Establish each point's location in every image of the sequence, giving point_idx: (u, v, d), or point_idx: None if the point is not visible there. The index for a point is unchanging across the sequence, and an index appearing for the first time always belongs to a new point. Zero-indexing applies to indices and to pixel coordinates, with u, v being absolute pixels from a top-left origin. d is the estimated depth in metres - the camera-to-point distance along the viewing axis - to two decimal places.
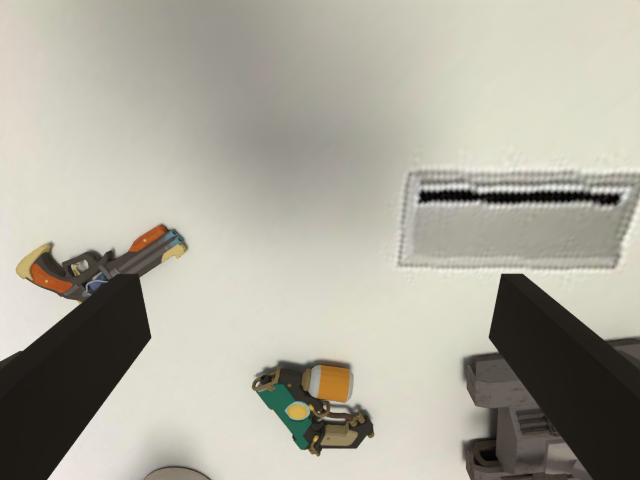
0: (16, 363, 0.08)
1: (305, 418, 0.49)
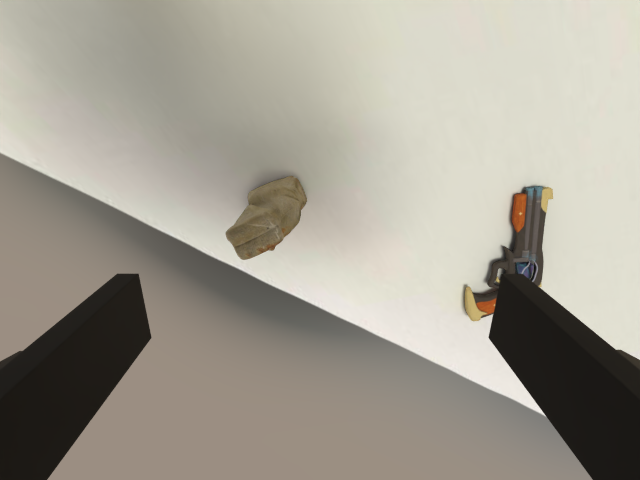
0: (16, 363, 0.08)
1: None
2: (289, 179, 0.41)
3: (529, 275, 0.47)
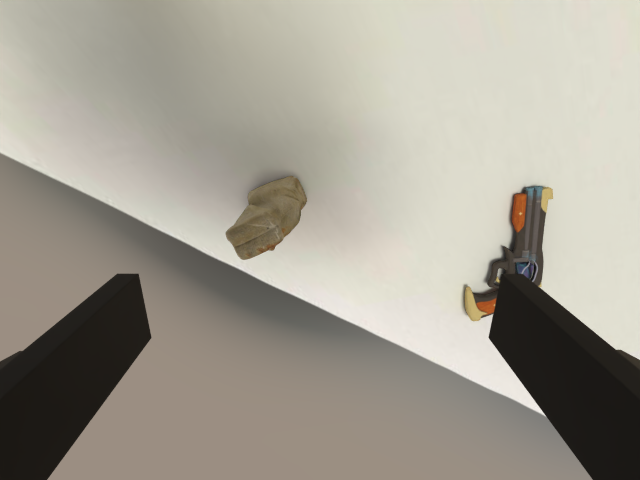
0: (16, 363, 0.08)
1: None
2: (289, 179, 0.41)
3: (529, 275, 0.47)
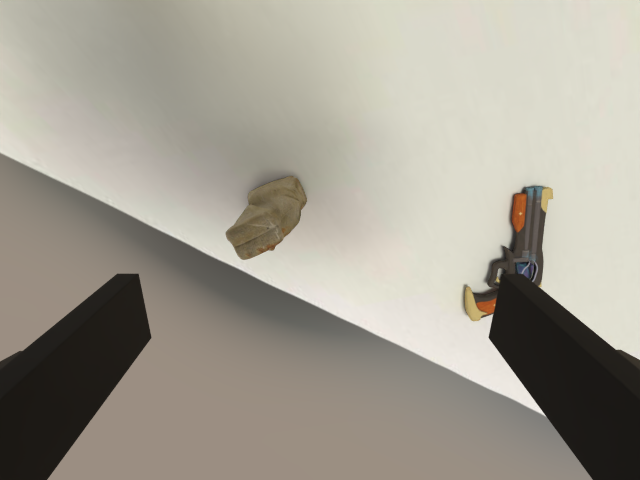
0: (16, 363, 0.08)
1: None
2: (289, 179, 0.41)
3: (529, 275, 0.47)
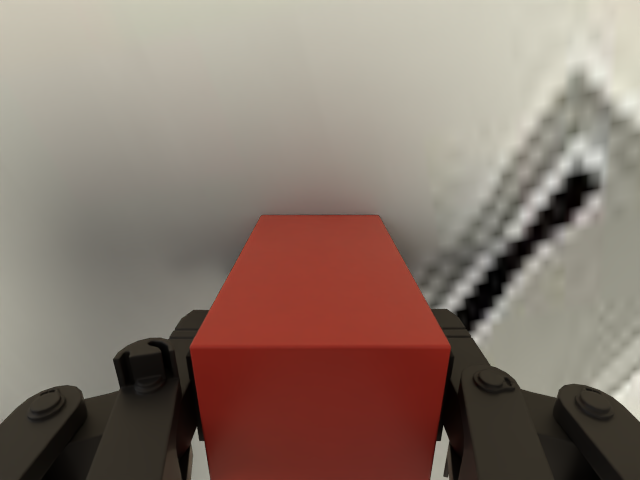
0: None
1: None
2: None
3: None
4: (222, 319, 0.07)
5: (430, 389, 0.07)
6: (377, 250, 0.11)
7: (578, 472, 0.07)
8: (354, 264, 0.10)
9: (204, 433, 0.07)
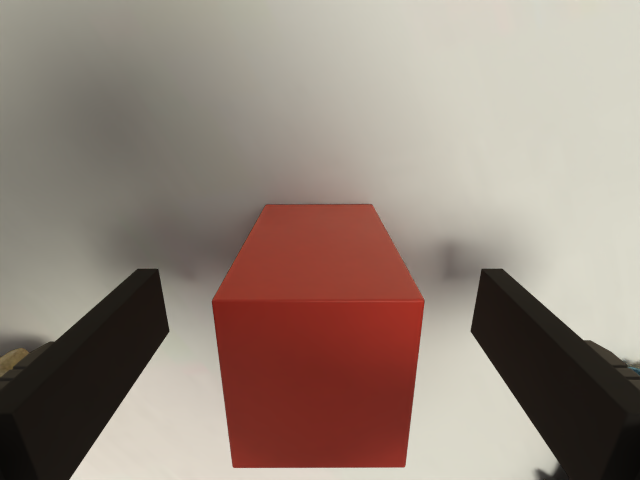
0: (52, 351, 0.08)
1: None
2: None
3: None
4: (237, 282, 0.09)
5: (408, 337, 0.08)
6: (368, 232, 0.12)
7: None
8: (348, 243, 0.11)
9: (222, 376, 0.09)
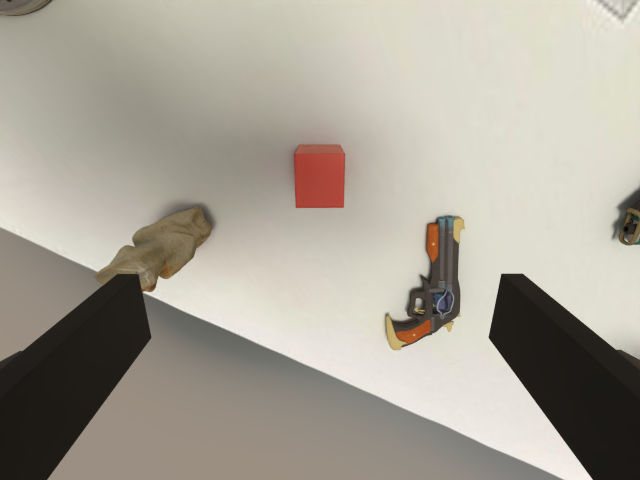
0: (16, 363, 0.08)
1: None
2: (188, 212, 0.41)
3: (446, 305, 0.46)
4: (298, 152, 0.35)
5: (341, 164, 0.34)
6: (335, 148, 0.38)
7: None
8: (328, 149, 0.37)
9: (295, 176, 0.34)
